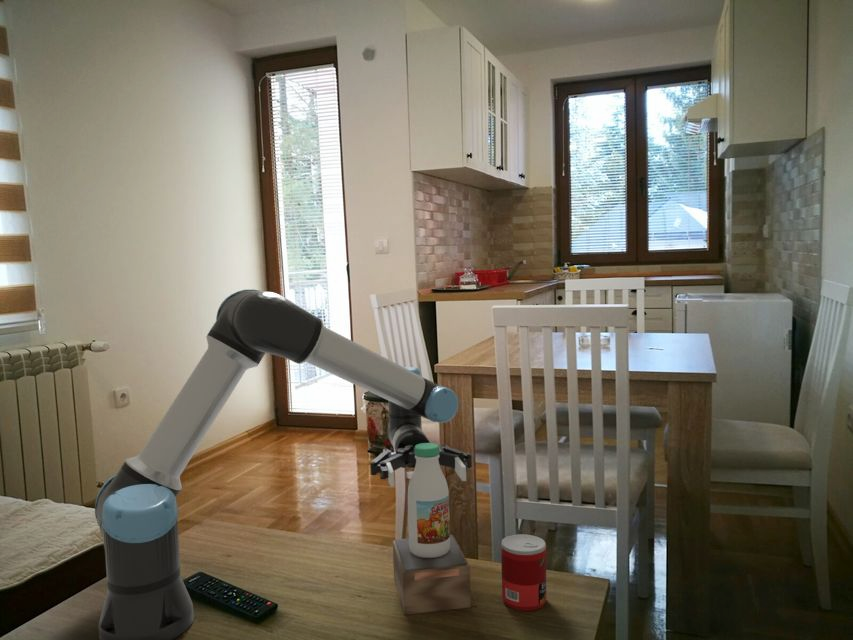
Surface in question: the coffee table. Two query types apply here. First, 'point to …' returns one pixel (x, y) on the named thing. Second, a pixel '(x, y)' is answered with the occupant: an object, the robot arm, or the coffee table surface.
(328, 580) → the coffee table surface
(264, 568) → the coffee table surface
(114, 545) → the robot arm
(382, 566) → the coffee table surface
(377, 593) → the coffee table surface
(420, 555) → the milk bottle
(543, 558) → the canned food
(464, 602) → the riser
